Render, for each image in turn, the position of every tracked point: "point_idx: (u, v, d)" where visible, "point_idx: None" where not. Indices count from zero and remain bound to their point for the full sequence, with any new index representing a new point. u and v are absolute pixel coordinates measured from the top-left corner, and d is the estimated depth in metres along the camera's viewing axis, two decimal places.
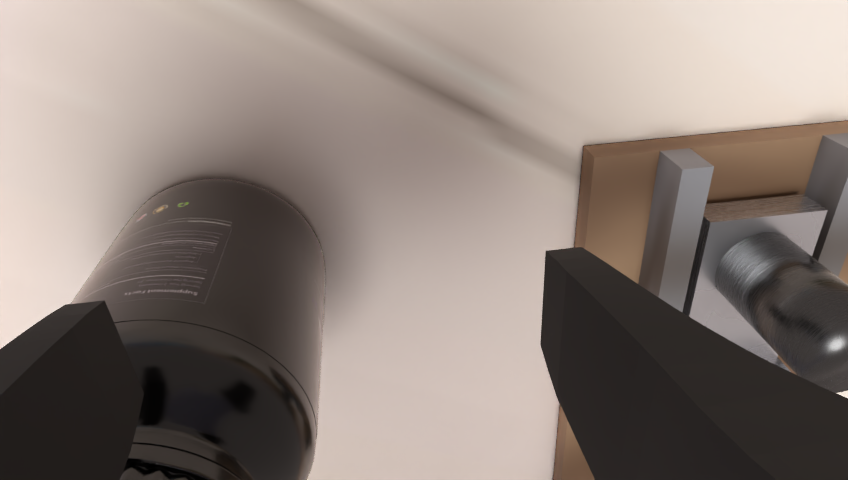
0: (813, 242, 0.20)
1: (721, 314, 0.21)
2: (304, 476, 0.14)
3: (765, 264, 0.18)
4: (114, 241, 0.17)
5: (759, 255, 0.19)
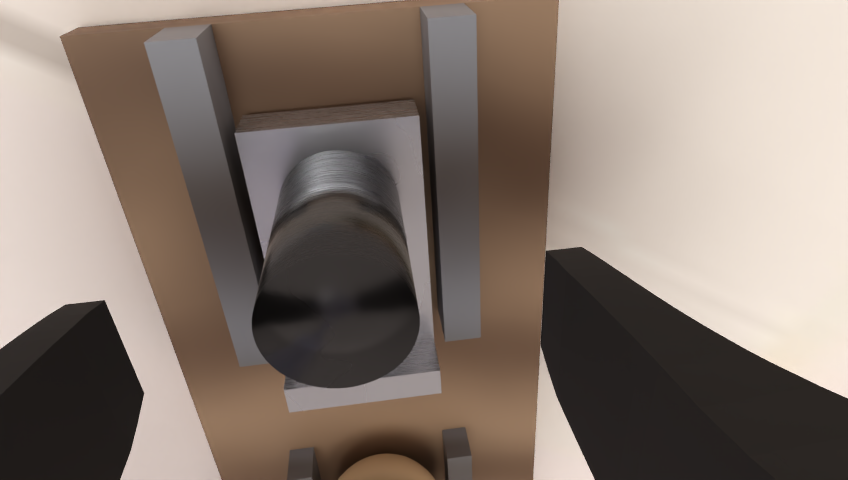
0: (417, 167, 0.13)
1: None
2: None
3: (292, 191, 0.12)
4: None
5: (297, 180, 0.12)
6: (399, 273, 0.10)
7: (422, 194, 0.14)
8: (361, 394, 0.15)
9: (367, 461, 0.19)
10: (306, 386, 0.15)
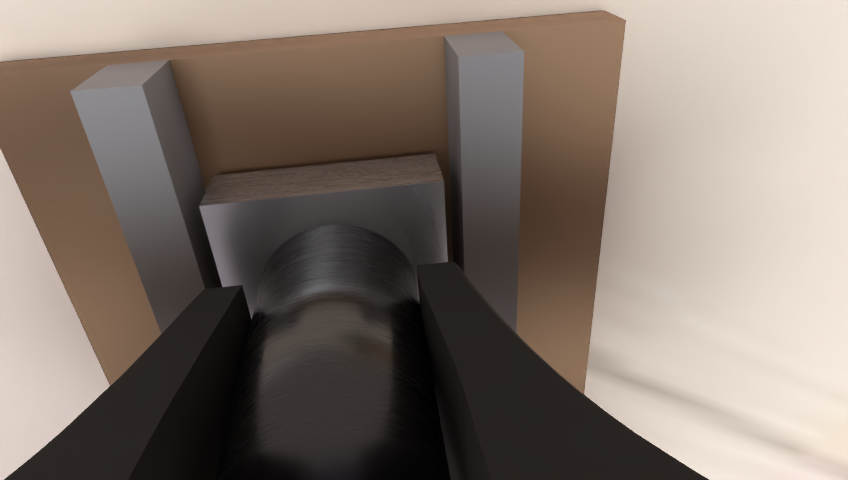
0: (440, 244, 0.10)
1: None
2: None
3: (275, 291, 0.09)
4: None
5: (281, 272, 0.09)
6: (426, 446, 0.07)
7: None
8: None
9: None
10: None
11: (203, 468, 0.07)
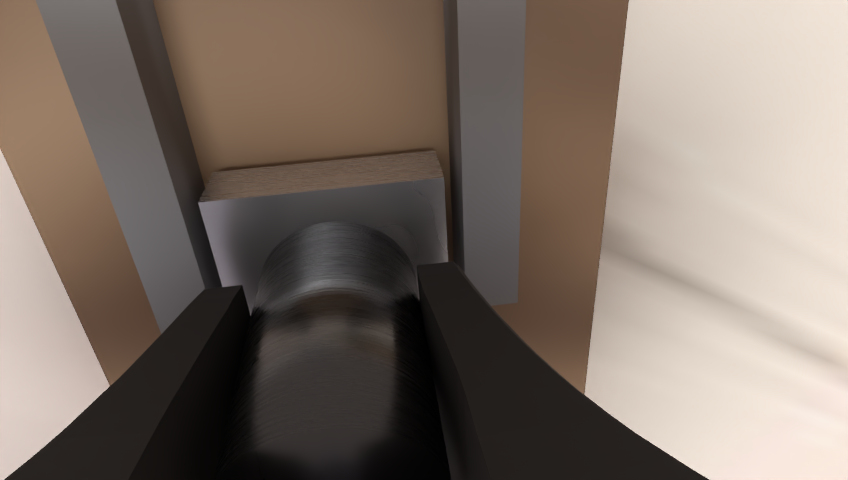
0: (440, 241, 0.10)
1: None
2: None
3: (274, 287, 0.09)
4: None
5: (281, 268, 0.09)
6: (425, 443, 0.06)
7: None
8: None
9: None
10: None
11: (203, 468, 0.07)
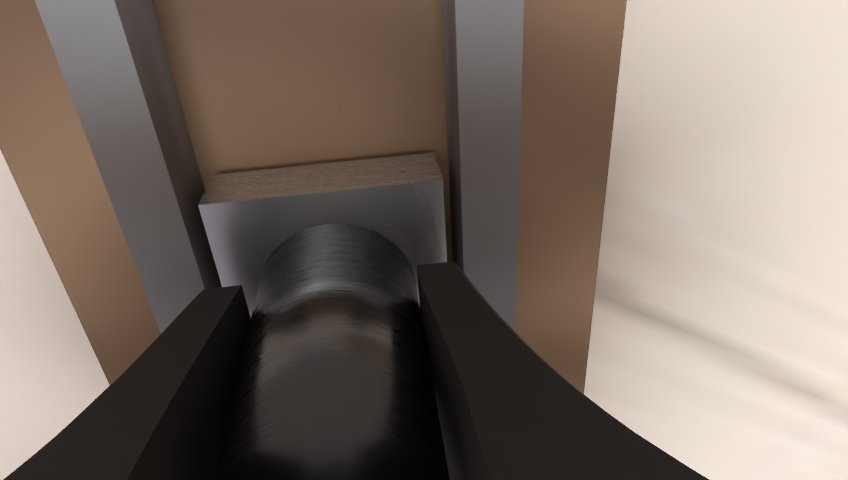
0: (439, 243, 0.10)
1: None
2: None
3: (274, 290, 0.09)
4: None
5: (280, 270, 0.09)
6: (424, 444, 0.07)
7: None
8: None
9: None
10: None
11: (202, 468, 0.07)
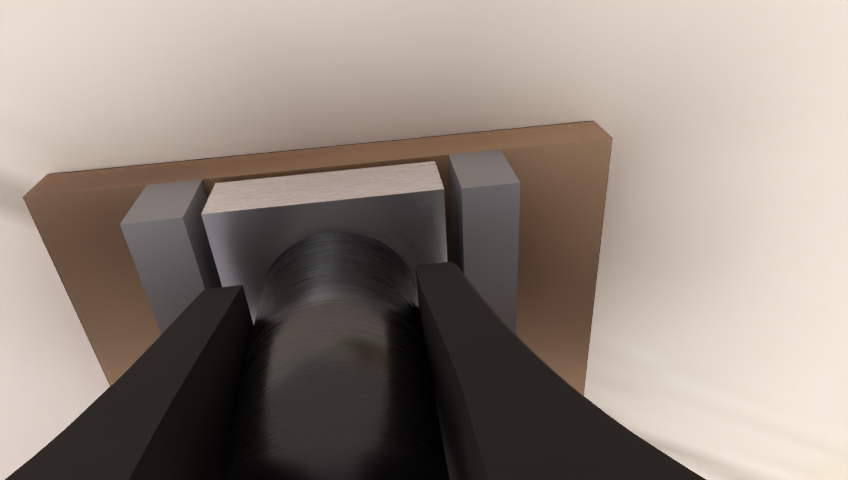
0: (440, 251, 0.10)
1: None
2: None
3: (276, 299, 0.09)
4: None
5: (283, 279, 0.09)
6: (426, 455, 0.07)
7: None
8: None
9: None
10: None
11: (204, 468, 0.07)
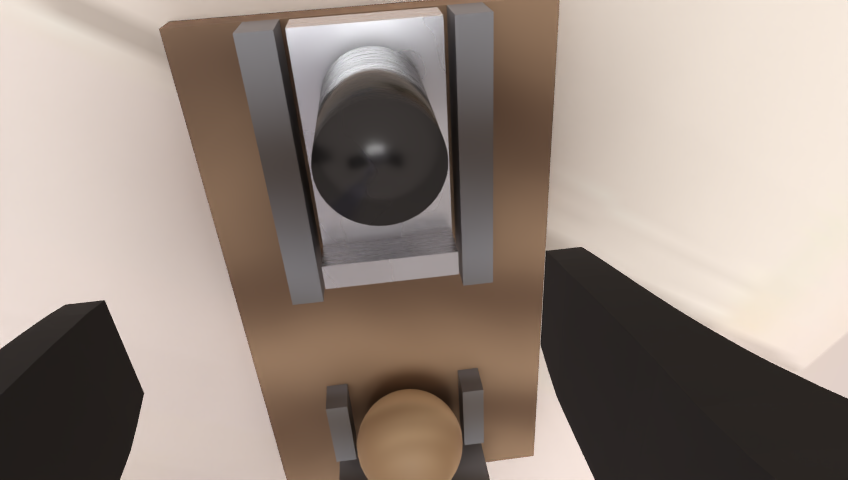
0: (440, 64, 0.15)
1: None
2: None
3: (336, 74, 0.14)
4: None
5: (339, 66, 0.14)
6: (432, 120, 0.12)
7: (444, 89, 0.16)
8: (389, 273, 0.17)
9: (394, 394, 0.22)
10: (341, 264, 0.17)
11: None
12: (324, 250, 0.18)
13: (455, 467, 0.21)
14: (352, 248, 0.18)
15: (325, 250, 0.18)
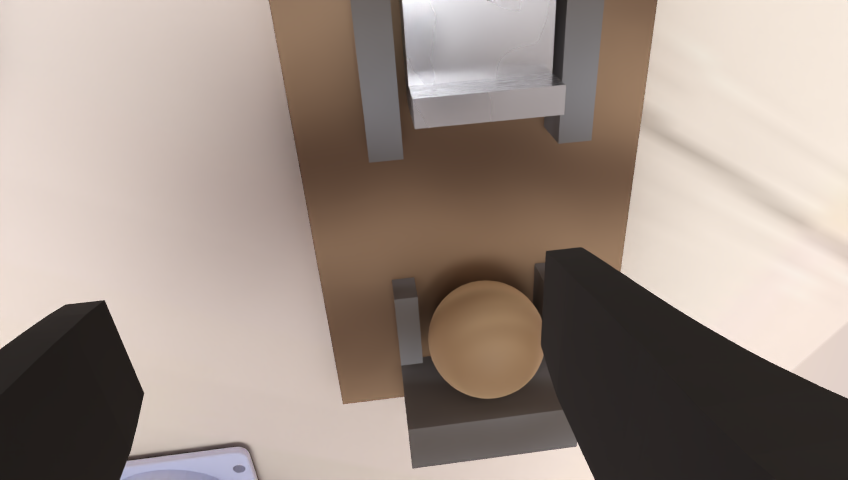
0: None
1: None
2: None
3: None
4: None
5: None
6: None
7: None
8: (486, 110, 0.15)
9: (468, 283, 0.20)
10: (434, 96, 0.15)
11: None
12: (411, 89, 0.16)
13: (540, 360, 0.19)
14: (443, 86, 0.16)
15: (412, 89, 0.16)
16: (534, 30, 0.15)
